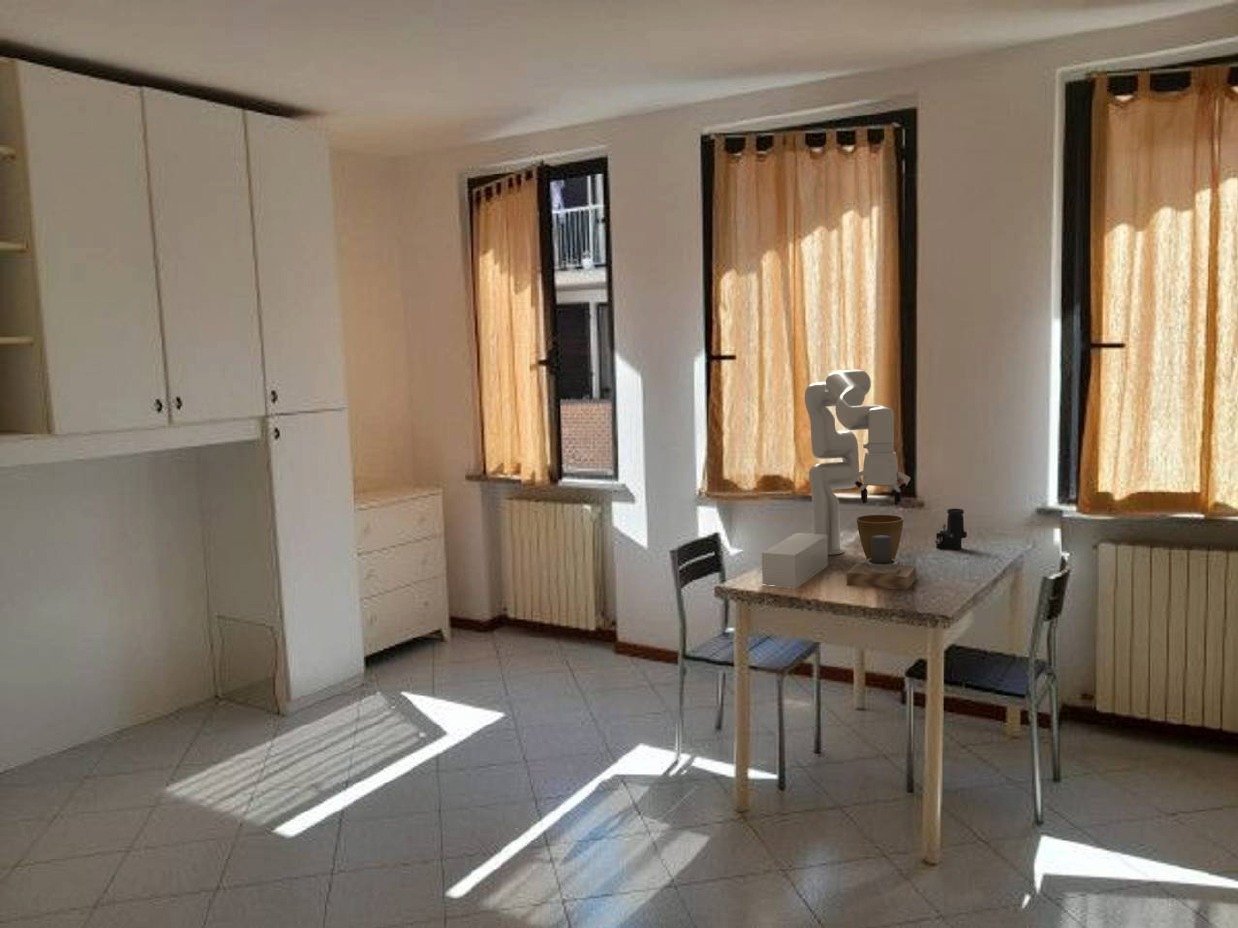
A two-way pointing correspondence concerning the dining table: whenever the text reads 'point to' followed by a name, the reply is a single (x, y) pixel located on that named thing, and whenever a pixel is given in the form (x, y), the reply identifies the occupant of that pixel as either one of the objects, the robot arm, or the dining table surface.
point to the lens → (881, 550)
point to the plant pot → (879, 531)
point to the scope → (952, 531)
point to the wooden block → (881, 575)
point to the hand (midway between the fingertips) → (880, 503)
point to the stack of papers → (794, 560)
